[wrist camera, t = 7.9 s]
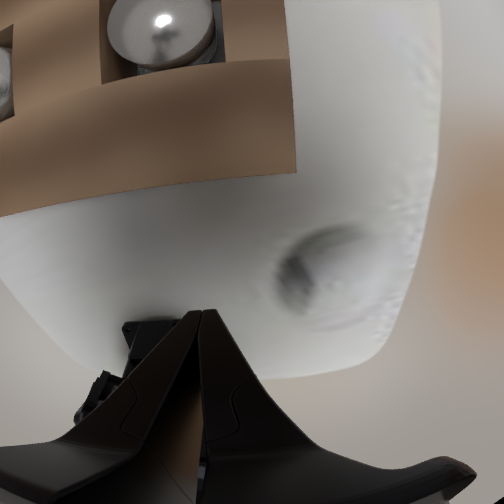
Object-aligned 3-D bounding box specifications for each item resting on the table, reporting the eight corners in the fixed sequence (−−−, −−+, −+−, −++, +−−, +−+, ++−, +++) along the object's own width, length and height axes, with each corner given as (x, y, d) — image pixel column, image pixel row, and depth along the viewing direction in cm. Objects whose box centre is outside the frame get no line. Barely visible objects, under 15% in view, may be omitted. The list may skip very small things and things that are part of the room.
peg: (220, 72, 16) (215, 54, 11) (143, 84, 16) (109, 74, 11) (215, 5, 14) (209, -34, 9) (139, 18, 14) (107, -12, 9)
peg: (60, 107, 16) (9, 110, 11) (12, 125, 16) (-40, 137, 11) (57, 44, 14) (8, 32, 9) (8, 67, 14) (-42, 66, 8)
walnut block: (277, 155, 19) (296, 172, 13) (0, 202, 18) (-46, 230, 13) (258, -59, 12) (267, -105, 6) (-13, 25, 11) (-59, 18, 6)
